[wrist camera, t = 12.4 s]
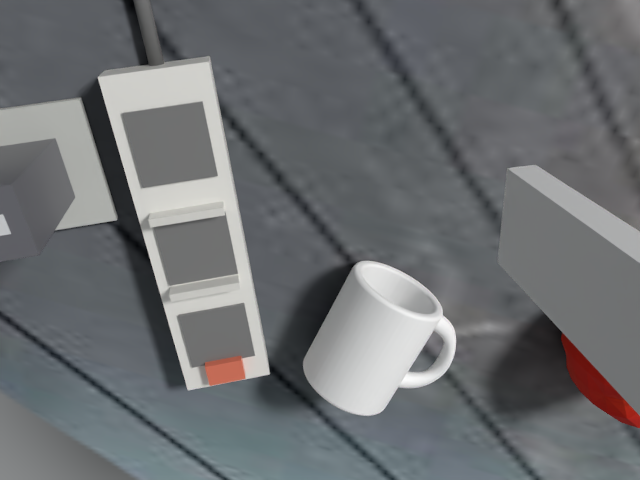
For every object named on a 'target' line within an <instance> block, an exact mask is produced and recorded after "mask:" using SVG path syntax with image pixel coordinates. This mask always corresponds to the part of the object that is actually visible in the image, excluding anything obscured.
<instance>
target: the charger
mask: <svg viewBox="0 0 640 480" xmlns="http://www.w3.org/2000/svg"><path fill="white" fill-rule="evenodd" d="M74 199H75V194H74V191H73V188H72V185H71V183H70V180H69V177H68V174H67V171H66V168H65V165H64V162H63V159H62V156H61V153H60V150H59V147H58V144H57V141H56V138H53V139H46V140H40V141H33V142H26V143H19V144H13V145H6V146H0V262H2V261H8V260H14V259H20V258H26V257H32V256H38V255H40V253H41V252H42V250H43V249H44V247H45V245H46V244H47V242H48V241H49V239H50V237H51V236H52V234H53V233H54V231H55V229H56V228H57V226H58V225H59V223H60V221H61V220H62V218H63V217H64V215H65V213H66V212H67V210H68V209H69V207H70V205H71V204H72V202H73V200H74Z"/></svg>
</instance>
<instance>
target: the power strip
mask: <svg viewBox="0 0 640 480" xmlns="http://www.w3.org/2000/svg"><path fill="white" fill-rule="evenodd" d="M133 2H134V6H135V10H136V14H137V18H138V22H139V26H140V30H141V34H142V38H143V43H144V47H145V51H146V55H147V59H148V63H149V64H148V65H141V66H134V67H126V68H119V69H112V70H105V71H104V72H103V73H102V74H100V75H99V76H98V80H99V84H100V87H101V91H102V94H103V98H104V101H105V105H106V108H107V112H108V115H109V119H110V122H111V126H112V129H113V132H114V136H115V139H116V143H117V146H118V150H119V153H120V157H121V160H122V164H123V167H124V171H125V174H126V178H127V181H128V185H129V188H130V191H131V195H132V198H133V202H134V205H135V209H136V212H137V216H138V219H139V223H140V226H141V230H142V233H143V237H144V240H145V243H146V247H147V250H148V254H149V257H150V261H151V264H152V268H153V271H154V275H155V278H156V282H157V285H158V289H159V292H160V295H161V299H162V302H163V306H164V309H165V313H166V316H167V320H168V323H169V327H170V330H171V334H172V337H173V341H174V344H175V348H176V351H177V354H178V358H179V361H180V365H181V368H182V372H183V375H184V379H185V382H186V386H187V389H188V390H192V389H198V388H203V387H208V386H213V385H218V384H223V383H228V382H233V381H239V380H244V379H249V378H254V377H259V376H264V375H269V374H270V371H269V363H268V356H267V350H266V345H265V340H264V335H263V330H262V325H261V319H260V314H259V309H258V304H257V299H256V293H255V288H254V283H253V278H252V273H251V268H250V262H249V257H248V252H247V247H246V242H245V237H244V231H243V226H242V221H241V216H240V211H239V205H238V200H237V195H236V190H235V185H234V180H233V174H232V169H231V164H230V159H229V154H228V149H227V143H226V138H225V133H224V128H223V123H222V118H221V112H220V107H219V102H218V97H217V92H216V86H215V81H214V76H213V71H212V66H211V61H210V56H206V57H199V58H192V59H184V60H177V61H170V62H164V59H163V55H162V51H161V46H160V42H159V38H158V33H157V29H156V25H155V20H154V16H153V12H152V7H151V3H150V0H133Z"/></svg>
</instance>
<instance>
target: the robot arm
mask: <svg viewBox="0 0 640 480" xmlns="http://www.w3.org/2000/svg"><path fill="white" fill-rule="evenodd" d="M498 263H499V265H500V266H501V267H502V268H503V269H504V270H505V271H506V272H507V273H508V274H509V275H510V276H511V277H512V279H513V280H514V281H515V282H516V283H517V284H518V285H519V286H520V287H521V288H522V289H523V290H524V292H525V293H526V294H527V295H528V296H529V297H530V298H531V299H532V300H533V301H534V302H535V303H536V304H537V306H538V307H539V308H540V309H541V310H542V311H543V312H544V313H545V314H546V315H547V316H548V317H549V318H550V320H551V321H552V322H553V323H554V324H555V325H556V326H557V327H558V328H559V329H560V330H561V331H562V333H563V334H564V335H565V336H566V337H567V338H568V339H569V340H570V341H571V342H572V343H573V344H574V345H575V347H576V348H577V349H578V350H579V351H580V352H581V353H582V354H583V355H584V356H585V357H586V358H587V359H588V361H589V362H590V363H591V364H592V365H593V366H594V367H595V368H596V369H597V370H598V371H599V372H600V374H601V375H602V376H603V377H604V378H605V379H606V380H607V381H608V382H609V383H610V384H611V385H612V386H613V388H614V389H615V390H616V391H617V392H618V393H619V394H620V395H621V396H622V397H623V398H624V399H625V400H626V402H627V403H628V404H629V405H630V406H631V407H632V408H633V409H634V410H635V411H636V412H637V413H638V415H639V416H640V232H639V231H638V230H636V229H635V228H633V227H632V226H630V225H629V224H627V223H625V222H624V221H622V220H621V219H619V218H618V217H616V216H614V215H613V214H611V213H610V212H608V211H607V210H605V209H604V208H602V207H600V206H599V205H597V204H596V203H594V202H593V201H591V200H590V199H588V198H586V197H585V196H583V195H582V194H580V193H579V192H577V191H575V190H574V189H572V188H571V187H569V186H568V185H566V184H565V183H563V182H561V181H560V180H558V179H557V178H555V177H554V176H552V175H550V174H549V173H547V172H546V171H544V170H543V169H541V168H540V167H538V166H536V165H531V166H522V167H514V168H507V175H506V185H505V195H504V205H503V215H502V225H501V234H500V244H499V254H498Z"/></svg>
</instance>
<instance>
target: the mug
mask: <svg viewBox="0 0 640 480" xmlns="http://www.w3.org/2000/svg"><path fill="white" fill-rule="evenodd" d="M433 331H435V332H437V333H438V334H439V335H440V336H441V337H442V339H443V341H444V345H443V348H442V350H441V353H440V355H439V356H438V358H437V360H436V361H435V362H434V364H433V365H432V366H431V367H430V368H428V369H427V370H425V371H421V372H408V371H409V369H410V367H411V366H412V364H413V363H414V361H415V359H416V358H417V356H418V355H419V353H420V351H421V350H422V348H423V347H424V345H425V343H426V342H427V340H428V339H429V337H430V335H431V334H432V332H433ZM455 348H456V335H455V331H454V328H453V326H452V324H451V323H450V321H449V320H448V319H447V318H446V317H444V316H443V310H442V307H441V305H440V303H439V301H438V300H437V298H436V297H435V296H434V295H433V294H432V293H431V292H430V291H429V290H428V289H427V288H426V287H424V286H423V285H422V284H421V283H419V282H418V281H417V280H415V279H414V278H412V277H410V276H409V275H407V274H405V273H403V272H402V271H400V270H397V269H395V268H393V267H391V266H388V265H385V264H382V263H379V262H374V261H360V262H358V263H356V264H355V265H354V266H353V268H352V270H351V272H350V273H349V275H348V277H347V279H346V281H345V283H344V285H343V287H342V288H341V290H340V292H339V294H338V296H337V298H336V300H335V301H334V303H333V305H332V307H331V309H330V311H329V313H328V315H327V316H326V318H325V320H324V322H323V324H322V326H321V328H320V329H319V331H318V333H317V335H316V337H315V339H314V341H313V343H312V344H311V346H310V348H309V350H308V352H307V354H306V356H305V358H304V361H303V370H304V373H305V376H306V378H307V380H308V382H309V383H310V385H311V386H312V387H313V388H314V390H315V391H316V392H317V393H318V394H319V395H320V396H321V397H323V398H324V399H325V400H326V401H328V402H329V403H331V404H332V405H334V406H336V407H338V408H340V409H342V410H344V411H346V412H349V413H352V414H356V415H363V416H370V415H375V414H378V413H380V412H381V411H383V410H384V409H385V407H386V406H387V404H388V402H389V401H390V399H391V398H392V396H393V394H394V393H395V391H396V390H397V388H398V387H399V388H417V387H422V386H425V385H428V384H430V383H432V382H434V381H435V380H437V379H438V378H440V377H441V376H442V375H443V374H444V373H445V372H446V371H447V369H448V368H449V366H450V364H451V362H452V360H453V357H454V354H455Z"/></svg>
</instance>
